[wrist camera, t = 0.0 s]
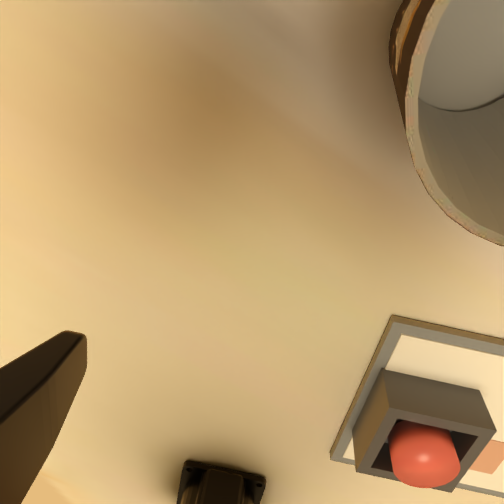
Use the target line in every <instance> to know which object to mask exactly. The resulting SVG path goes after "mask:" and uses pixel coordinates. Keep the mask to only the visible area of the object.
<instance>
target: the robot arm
mask: <svg viewBox="0 0 504 504" xmlns="http://www.w3.org/2000/svg"><path fill="white" fill-rule="evenodd" d="M86 368H87V338H86V336H85V335H84V334H82V333H77V332H73V331H63V332H61V333H59V334H57V335H56V336H54V337H52V338H51V339H49V340H47V341H45V342H44V343H42V344H40V345H39V346H37V347H35V348H34V349H32V350H30V351H28V352H27V353H25V354H23V355H22V356H20V357H18V358H17V359H15V360H13V361H11V362H10V363H8V364H6V365H5V366H3V367H1V368H0V504H21V503H22V501H23V499H24V497H25V496H26V494H27V492H28V490H29V489H30V487H31V485H32V483H33V482H34V480H35V478H36V476H37V475H38V473H39V471H40V469H41V468H42V466H43V464H44V462H45V461H46V459H47V457H48V455H49V453H50V451H51V449H52V448H53V446H54V443H55V441H56V439H57V437H58V435H59V432H60V430H61V428H62V426H63V423H64V421H65V419H66V416H67V414H68V412H69V409H70V407H71V405H72V402H73V400H74V398H75V396H76V393H77V391H78V389H79V386H80V384H81V382H82V379H83V377H84V375H85V372H86ZM265 487H266V479H265V478H263V477H261V476H256V475H252V474H247V473H242V472H238V471H233V470H229V469H224V468H220V467H215V466H210V465H206V464H201V463H197V462H192V461H186V462H185V463H184V465H183V470H182V475H181V481H180V487H179V492H178V498H177V504H260V501H261V498H262V495H263V492H264V489H265Z"/></svg>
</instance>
